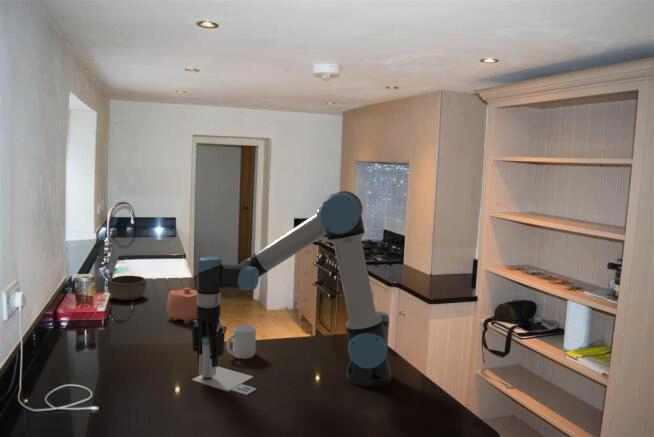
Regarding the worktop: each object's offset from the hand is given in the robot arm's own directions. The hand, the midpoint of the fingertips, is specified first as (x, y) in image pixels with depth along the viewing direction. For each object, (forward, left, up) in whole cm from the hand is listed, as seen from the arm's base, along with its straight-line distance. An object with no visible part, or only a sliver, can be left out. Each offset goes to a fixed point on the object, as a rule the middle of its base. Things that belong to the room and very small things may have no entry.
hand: (207, 374), depth 174 cm
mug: (+4, -22, -2) cm, 22 cm away
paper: (-4, -3, -2) cm, 5 cm away
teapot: (+50, -44, -2) cm, 66 cm away
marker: (0, 0, -1) cm, 1 cm away
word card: (-15, 0, -2) cm, 15 cm away
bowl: (+98, -51, -2) cm, 111 cm away
